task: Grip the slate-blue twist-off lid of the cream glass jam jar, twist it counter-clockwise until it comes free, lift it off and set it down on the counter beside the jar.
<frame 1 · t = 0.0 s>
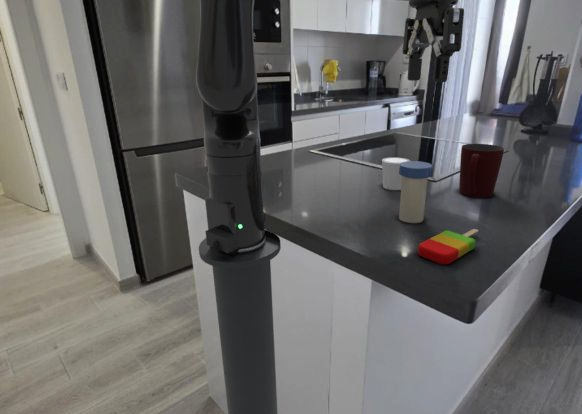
hand: (425, 81, 65), 26 cm above the countertop, tool pointing down, fingers open, 8 cm apart
white short cylinder: (394, 187, 97), on the countertop
popsicle: (454, 247, 64), on the countertop
mug: (473, 195, 90), on the countertop
jar: (411, 218, 76), on the countertop
lid: (415, 166, 73), point 11 cm above the countertop, screwed on, not yet turned
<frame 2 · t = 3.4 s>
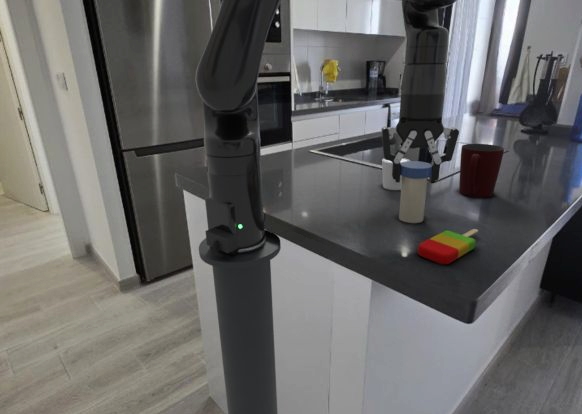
hand: (414, 181, 74), 8 cm above the countertop, tool pointing down, fingers closed on lid, 6 cm apart
lid: (415, 166, 73), point 11 cm above the countertop, screwed on, not yet turned, touching gripper
everything else where it was.
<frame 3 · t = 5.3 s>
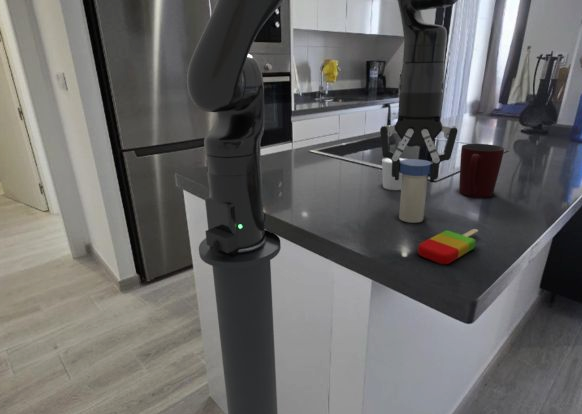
hand: (414, 179, 74), 8 cm above the countertop, tool pointing down, fingers closed on lid, 6 cm apart
lid: (415, 164, 73), point 11 cm above the countertop, off its thread, touching gripper
everything else where it was.
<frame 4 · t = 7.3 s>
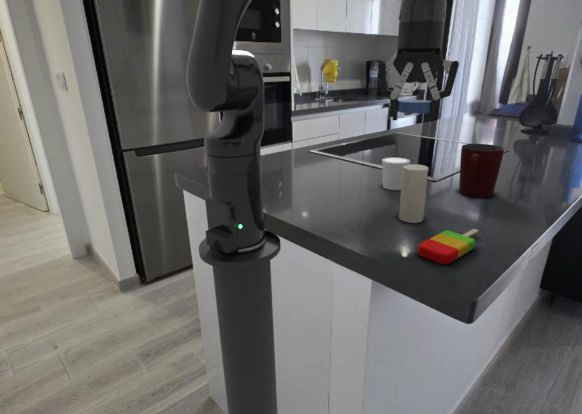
hand: (412, 120, 71), 19 cm above the countertop, tool pointing down, fingers closed on lid, 6 cm apart
lid: (414, 103, 70), point 22 cm above the countertop, off its thread, touching gripper
everything else where it was.
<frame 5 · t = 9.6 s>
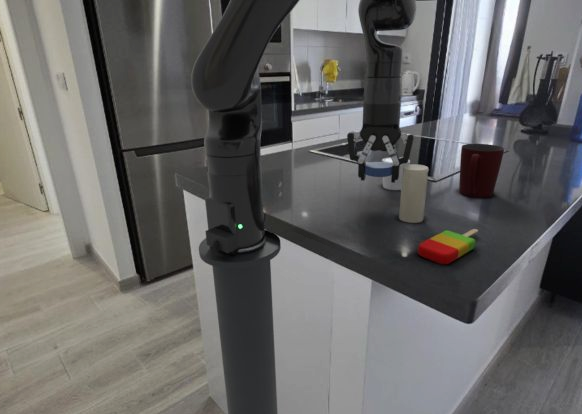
hand: (377, 180, 83), 5 cm above the countertop, tool pointing down, fingers closed on lid, 6 cm apart
lid: (378, 166, 82), point 9 cm above the countertop, off its thread, touching gripper
everything else where it was.
when the fingers open (0 cm above the countertop, at t = 11.6 s): lid drops 1 cm, point 1 cm above the countertop.
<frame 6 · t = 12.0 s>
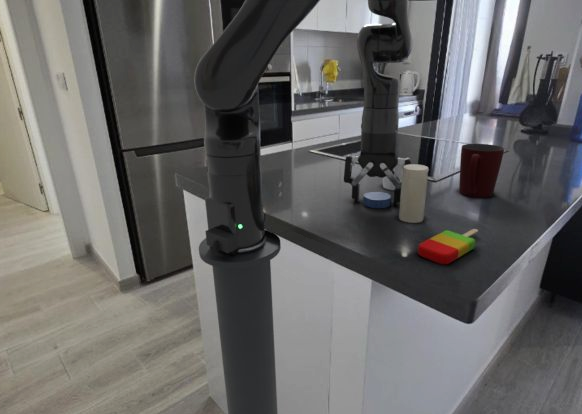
hand: (375, 202, 85), 0 cm above the countertop, tool pointing down, fingers open, 8 cm apart
lid: (377, 197, 84), point 1 cm above the countertop, off its thread
everything else where it was.
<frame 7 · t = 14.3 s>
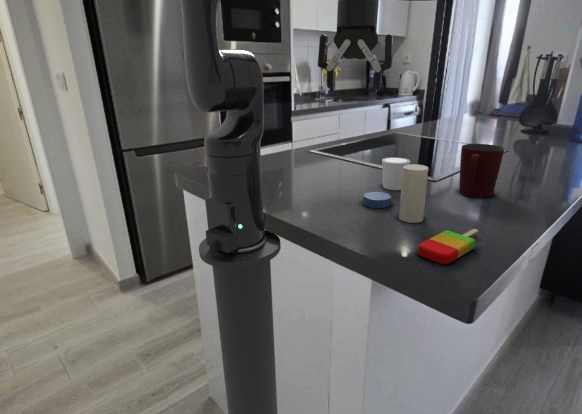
hand: (352, 91, 76), 24 cm above the countertop, tool pointing down, fingers open, 8 cm apart
nothing on the countertop moved.
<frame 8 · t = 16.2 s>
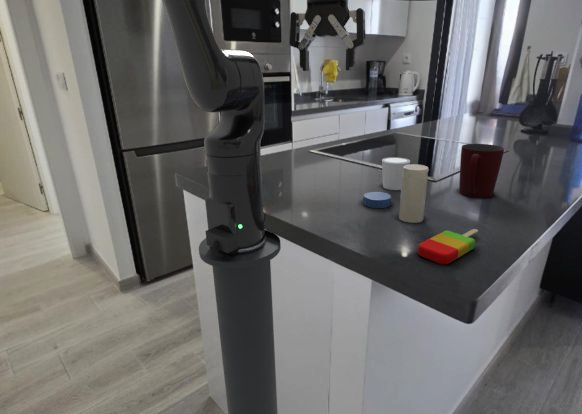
hand: (326, 70, 74), 28 cm above the countertop, tool pointing down, fingers open, 8 cm apart
nothing on the countertop moved.
at the end: lid came off its thread; lid point 1.5 cm above the countertop; the gripper is holding nothing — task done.
